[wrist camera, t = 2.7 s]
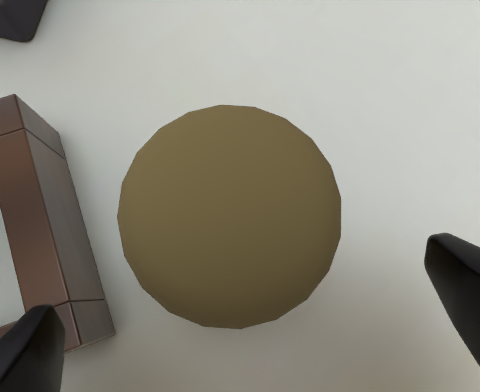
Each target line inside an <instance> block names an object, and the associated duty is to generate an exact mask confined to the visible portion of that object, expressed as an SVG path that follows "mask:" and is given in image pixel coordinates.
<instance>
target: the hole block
mask: <svg viewBox="0 0 480 392" xmlns="http://www.w3.org/2000/svg"><path fill="white" fill-rule="evenodd" d="M0 207H1V212H2V216H3V220H4V224H5V228H6V233H7V237H8V241H9V245H10V249H11V254H12V258H13V262H14V266H15V270H16V275H17V279H18V283H19V287H20V291H21V296H22V300H23V304H24V308H25V312H27V311H28V310H29V309H30V308H32V307H33V306H37V305H43V304H52V305H53V306H54V307H55V309H56V311H57V313H58V314H59V316H60V318H61V320H62V322H63V324H64V326H65V329H66V342H65V352H64V354H66V353H68V352H71V351H74V350H76V349H79V348H82V347H84V346H87V345H89V344H92V343H95V342H97V341H100V340H103V339H105V338H108V337H110V336H113V335H115V331H114V327H113V324H112V320H111V317H110V313H109V310H108V306H107V303H106V300H104V299H105V296H104V292H103V289H102V285H101V282H100V278H99V275H98V271H97V268H96V264H95V261H94V257H93V254H92V250H91V247H90V243H89V240H88V236H87V233H86V229H85V226H84V222H83V219H82V215H81V212H80V208H79V205H78V201H77V198H76V194H75V191H74V187H73V184H72V180H71V177H70V173H69V169H68V166H67V162H66V161H65V156H64V152H63V148H62V145H61V141H60V138H59V134H58V132H57V131H56V130H55V129H54V128H53V127H51V126H50V125H49V124H48V123H47V122H46V121H45V120H44V119H43V118H41V117H40V116H39V115H38V114H37V113H36V112H35V111H34V110H32V109H31V108H30V107H29V106H28V105H27V104H26V103H25V102H23V101H22V100H21V99H20V98H19V97H18V96H17V95H16V94H12V95H9V96H6V97H3V98H0ZM16 322H17V321H15V322H12V323H10V324H7V325H4V326H2V327H0V338H1V337H2V336H3V335H4V334H5V333H6V332H7V331H8V330H9V329H10V328H11V327H12V326H13V325H14V324H15V323H16Z"/></svg>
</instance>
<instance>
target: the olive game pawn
mask: <svg viewBox="0 0 480 392" xmlns="http://www.w3.org/2000/svg"><path fill="white" fill-rule="evenodd" d="M117 219H118V224H119V230H120V235H121V241H122V246H123V252H124V256H125V258H126V260H127V262H128V263H129V265H130V267H131V269H132V271H133V272H134V274H135V276H136V278H137V280H138V281H139V283H140V285H141V287H142V288H143V289H144V290H145V291H146V292H147V293H149V294H150V295H151V296H152V297H153V298H154V299H155V300H156V301H157V302H159V303H160V304H161V305H162V306H163V307H164V308H165V309H166V310H167V311H169V312H170V313H173V314H175V315H177V316H180V317H182V318H184V319H187V320H189V321H191V322H194V323H196V324H199V325H201V326H204V327H218V328H232V329H243V328H246V327H250V326H254V325H258V324H262V323H265V322H269V321H273V320H276V319H278V318H279V317H281V316H283V315H284V314H286V313H287V312H289V311H290V310H292V309H293V308H295V307H296V306H298V305H299V304H301V303H302V302H304V301H305V300H307V299H308V297H309V296H310V295H311V293H312V292H313V291H314V290H315V288H316V287H317V286H318V284H319V283H320V282H321V280H322V279H323V278H324V277H325V275H326V274H327V273H328V271H329V269H330V266H331V264H332V261H333V258H334V255H335V252H336V249H337V246H338V243H339V240H340V237H341V196H340V193H339V190H338V187H337V184H336V180H335V177H334V174H333V171H332V168H331V165H330V164H329V162H328V161H327V160H326V158H325V157H324V155H323V154H322V153H321V151H320V150H319V148H318V147H317V146H316V144H315V143H314V141H313V140H312V139H311V138H310V137H309V136H308V135H306V134H305V133H304V132H302V131H301V130H300V129H298V128H297V127H296V126H294V125H293V124H292V123H291V122H289V121H288V120H287V119H285V118H283V117H280V116H277V115H275V114H272V113H269V112H267V111H264V110H261V109H258V108H256V107H248V106H233V105H218V106H213V107H209V108H205V109H200V110H196V111H192V112H188V113H186V114H185V115H183V116H181V117H179V118H178V119H176V120H174V121H172V122H171V123H169V124H167V125H165V126H164V127H162V128H160V129H159V130H158V131H157V132H156V133H155V134H154V135H153V136H152V137H151V139H150V140H149V141H148V142H147V143H146V144H145V145H144V146H143V147H142V148H141V149H140V150H139V151H138V152H137V154H136V156H135V158H134V160H133V162H132V164H131V166H130V168H129V170H128V172H127V174H126V176H125V178H124V180H123V182H122V187H121V194H120V201H119V208H118V215H117Z"/></svg>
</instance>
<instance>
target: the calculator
mask: <svg viewBox="0 0 480 392" xmlns="http://www.w3.org/2000/svg"><path fill="white" fill-rule="evenodd" d="M46 1H47V0H0V37H4V38H9V39H13V40H18V41H28V40H30V39H31V38H32V37H33V34H34V32H35V29H36V27H37V24H38V22H39V19H40V16H41V14H42V11H43V9H44V6H45V3H46Z"/></svg>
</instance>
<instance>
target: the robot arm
mask: <svg viewBox="0 0 480 392" xmlns="http://www.w3.org/2000/svg"><path fill="white" fill-rule="evenodd" d="M424 265H425V269H426V272H427V274H428V276H429V278H430V280H431V282H432V284H433V286H434V288H435V290H436V292H437V294H438V296H439V298H440V300H441V302H442V304H443V306H444V308H445V310H446V312H447V314H448V316H449V318H450V319H451V321H452V323H453V325H454V327H455V328H456V330H457V332H458V333H459V335H460V336H461V338H462V340H463V341H464V343H465V344H466V346H467V347H468V349H469V350H470V352H471V354H472V355H473V357H474V358H475V360H476V361H477V363H478V364H479V366H480V247H478V246H476V245H474V244H471V243H469V242H467V241H465V240H462V239H460V238H458V237H456V236H454V235H451V234H449V233H440V234H435V235H431V236H430V237H429V238H428V240H427V246H426V253H425V259H424ZM65 342H66V329H65V326H64V324H63V322H62V320H61V318H60V316H59V314H58V313H57V311H56V309H55V307H54V306H53V305H52V304H43V305H37V306H33V307H32V308H30V309H29V310H28V311H27V312H26V313H25V314H24V315H23V316H22V317H21V318H20V319H19V320H18V321H17V322H16V323H15V324H14V325H13V326H12V327H11V328H10V329H9V330H8V331H7V332H6V333H5V334H4V335H3V336H2V337H1V338H0V392H60V388H61V379H62V370H63V361H64V352H65Z"/></svg>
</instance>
